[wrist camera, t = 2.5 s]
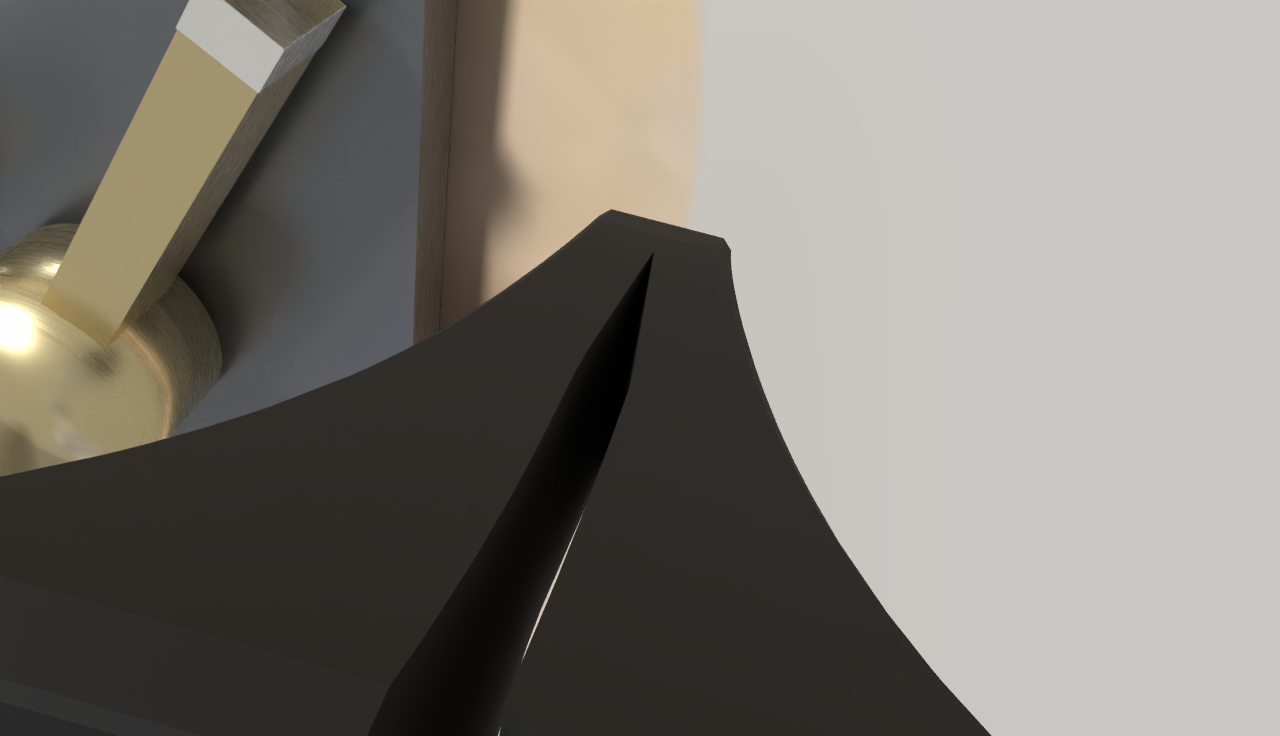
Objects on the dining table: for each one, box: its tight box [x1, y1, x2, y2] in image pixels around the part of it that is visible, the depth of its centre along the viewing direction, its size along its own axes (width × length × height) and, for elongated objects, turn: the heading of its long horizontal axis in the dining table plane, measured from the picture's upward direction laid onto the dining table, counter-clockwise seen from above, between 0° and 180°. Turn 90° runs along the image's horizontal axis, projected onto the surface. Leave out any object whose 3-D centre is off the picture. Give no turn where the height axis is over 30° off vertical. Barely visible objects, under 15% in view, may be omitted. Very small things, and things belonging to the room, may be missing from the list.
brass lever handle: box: [0, 0, 346, 477], centre depth 16 cm, size 11×4×3 cm, turn 140°
